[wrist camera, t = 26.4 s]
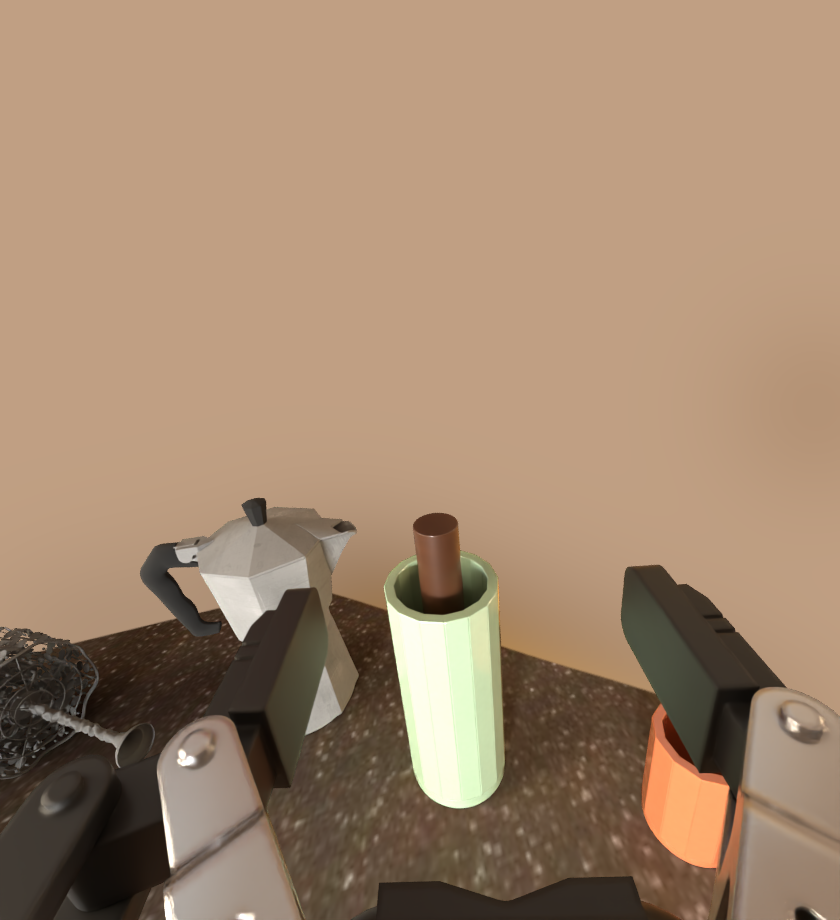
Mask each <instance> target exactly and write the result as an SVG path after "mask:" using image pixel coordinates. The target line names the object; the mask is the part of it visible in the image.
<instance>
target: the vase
mask: <svg viewBox="0 0 840 920" xmlns="http://www.w3.org/2000/svg"><path fill="white" fill-rule="evenodd" d="M460 557H461V570H462V582H463V595H464V608H465V609H464V610H463V611H459V612H454V613H450V614H446V615H434V614H424V613H423V605H422V597H421V589H420V580H419V572H418V564H417V556H416V555H414V556H412V557H410V558H407V559H405V560H403V561H402V562H400V563H399V564H398V565H397V566H396V567H395V568H394V569H393V570H392V571H391V572H390V573H389V575H388V577H387V580H386V583H385V585H384V592H385V599H386V604H387V611H388V617H389V623H390V630H391V636H392V642H393V648H394V654H395V660H396V667H397V673H398V679H399V685H400V691H401V697H402V704H403V710H404V716H405V722H406V728H407V734H408V741H409V747H410V753H411V758H412V764H413V770H414V774H415V777H416V779H417V782H418V783H419V785H420V787H421V788H422V790H423V791H424V792H425V793H426V794H427V795H428V796H429V797H430V798H431V799H433V800H434V801H436V802H438V803H439V804H442V805H444V806H447V807H451V808H468V807H472V806H475V805H478V804H480V803H482V802H483V801H485V800H486V799H487V798H489V797H490V796H491V795H492V794H493V793H494V792H495V790H496V789H497V788H498V786H499V784H500V782H501V780H502V777H503V774H504V769H505V738H504V712H503V687H502V662H501V637H500V611H499V586H498V576H497V575H496V573H495V571H494V570H493V568H492V566H491V565H490V564H489V563H488V562H486V561H485V560H483V559H482V558H480V557H478V556H477V555H475V554H472V553H468V552H465V551H461V550H460Z"/></svg>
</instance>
